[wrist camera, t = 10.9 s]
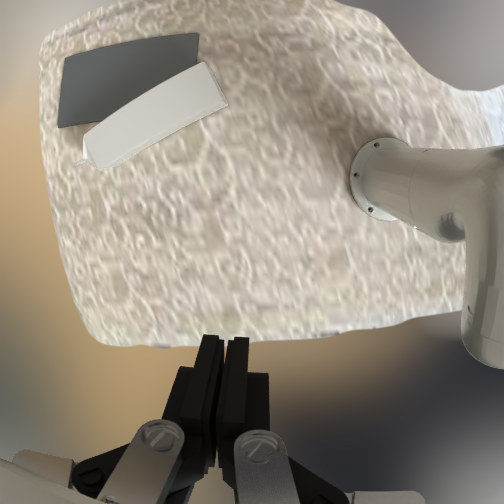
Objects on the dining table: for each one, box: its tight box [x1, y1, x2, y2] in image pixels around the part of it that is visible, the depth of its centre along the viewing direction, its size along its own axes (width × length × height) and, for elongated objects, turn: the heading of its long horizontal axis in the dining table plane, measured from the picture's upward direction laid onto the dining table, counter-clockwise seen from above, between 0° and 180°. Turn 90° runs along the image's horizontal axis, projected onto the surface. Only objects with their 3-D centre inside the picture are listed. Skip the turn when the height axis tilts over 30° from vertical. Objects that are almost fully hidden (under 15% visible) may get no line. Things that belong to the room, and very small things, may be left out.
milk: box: [77, 62, 228, 171], centre depth 35 cm, size 6×6×22 cm
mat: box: [58, 33, 199, 128], centre depth 35 cm, size 24×13×1 cm, turn 87°
